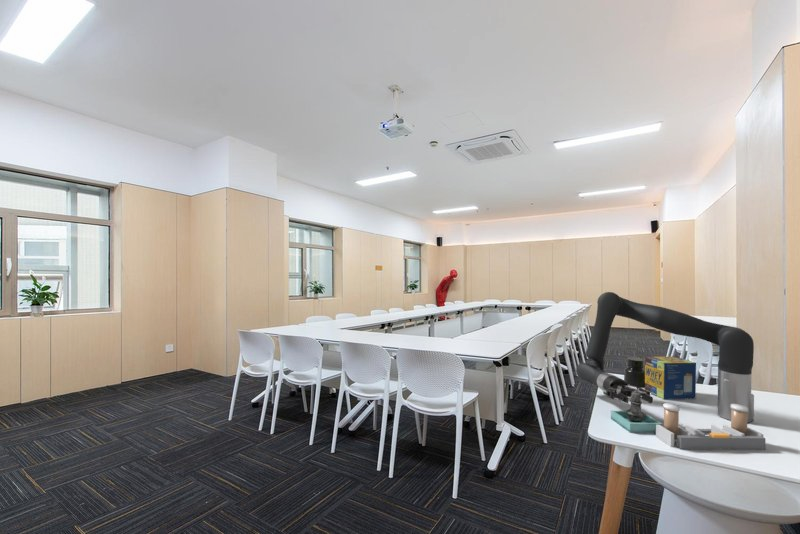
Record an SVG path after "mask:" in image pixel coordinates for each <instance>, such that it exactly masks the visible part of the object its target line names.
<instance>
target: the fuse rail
mask: <svg viewBox="0 0 800 534" xmlns="http://www.w3.org/2000/svg"><path fill="white" fill-rule="evenodd" d="M654 434H655V437H656V438H657V439H658V440H660V441H662V442H663V443H665V444H667V445H668V446H669V447H670V448H672V447H675V443H674V433H672V432H671V431H669V430H667V429H666V428H664V426H663V427H662V426H661V425H656V430H655V433H654ZM706 434H707V435H706ZM676 447H677V448H678V447H679V448H678V449H680V450H731V449H740V450H742V451H745V450H746V451H747V450H749V451H750V450H751V451H754V450H757V451H759V450H761V451H765V450H766V438H765V437H764V434H763V433H762V432H759V431H756V430H755V429H752V428H751V427H748V426H747V436H745V434H743V433H741V432H739V431H737V430H735V429H733V428H731V426H729V425H726V424H723V425H722V428H721V427H719V426H717V425H714V424H711V425H710V428H695V427H694V426H691V425H690V424H685V428H683V427H682V426H678V435H677V443H676Z"/></svg>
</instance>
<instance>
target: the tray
mask: <svg viewBox="0 0 800 534" xmlns="http://www.w3.org/2000/svg"><path fill="white" fill-rule="evenodd" d="M642 412H643V411H642ZM643 413H645V412H643ZM645 414H646V416H645V418H644V420H642V421H641V422H643V423H631V422H629V421H628V420H629V419H630V418H629V417H628V416H627V413H626V410H610V419H611V420H612V421H613V422H614V423H616V424H618V425H619V426H620V427H622V429H624V430H626V431H627V432H629V433H634V434H635V433H636V434H637V433H640V434H641V433H642V434H643V433H645V434H646V433H650V434H656V433H655V430H656V425H661V426H662V427H664V423H662V422H660V421H659V420H658V419H656V418H653V417H652V416H650V415H649V414H647V413H645Z"/></svg>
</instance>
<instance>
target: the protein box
mask: <svg viewBox="0 0 800 534" xmlns="http://www.w3.org/2000/svg"><path fill="white" fill-rule="evenodd" d="M644 370H645V387H644V389H645V390H647V391H649V392H650V393H651V394H650V395H653V396H655V397H657V398H660V399H661V398H662V399H661V400H689V399H690V398H692V399H691V400H693V399H694V398H695V399H696V391H697V389H696V385H697V362H695V361H691V360H688V359H685V358H683V357H682V358H681V357H678V356H645V358H644ZM685 398H686V399H685ZM687 398H688V399H687ZM695 399H694V400H695Z"/></svg>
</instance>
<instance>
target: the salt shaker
mask: <svg viewBox="0 0 800 534" xmlns="http://www.w3.org/2000/svg"><path fill="white" fill-rule="evenodd" d="M641 397H642V396H641V394H640V393H639V392H637V388H636V389H635V391H633V392H631V397H630V400H629V402H630V408H629V409H626V410H625V411H626V413H627V416H628V417H629V418H630V419H629V420H628V421H629V422H631V423H643V422H641V421H642V420H644V418H645V416H646V414H647V413H645V412H644V413H643V411H642V404H643V402H642V401H641V400H642V399H641Z"/></svg>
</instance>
